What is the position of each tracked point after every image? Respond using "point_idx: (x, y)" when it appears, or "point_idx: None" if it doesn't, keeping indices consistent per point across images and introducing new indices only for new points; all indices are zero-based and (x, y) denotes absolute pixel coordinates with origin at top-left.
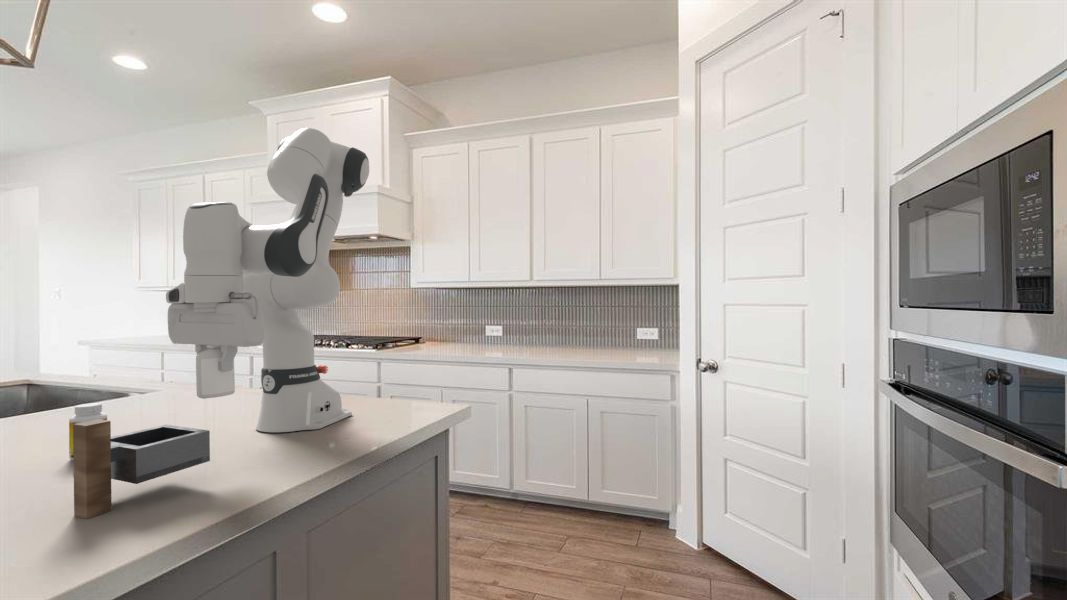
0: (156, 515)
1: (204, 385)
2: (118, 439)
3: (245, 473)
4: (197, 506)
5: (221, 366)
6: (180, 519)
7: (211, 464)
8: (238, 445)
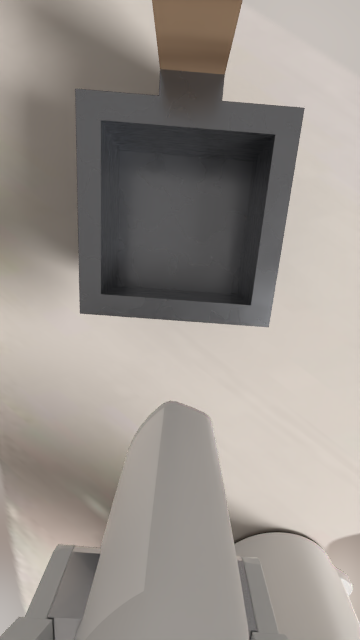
0: (70, 156)
1: (151, 438)
2: (266, 177)
3: (113, 354)
4: (43, 210)
5: (62, 575)
6: (14, 157)
7: (218, 372)
8: (266, 464)
